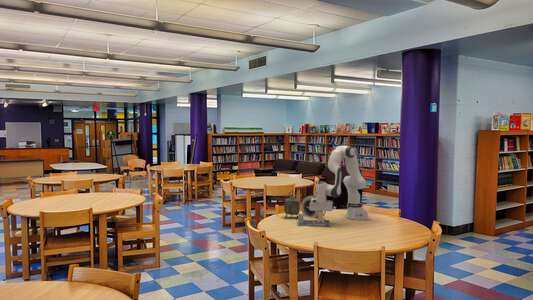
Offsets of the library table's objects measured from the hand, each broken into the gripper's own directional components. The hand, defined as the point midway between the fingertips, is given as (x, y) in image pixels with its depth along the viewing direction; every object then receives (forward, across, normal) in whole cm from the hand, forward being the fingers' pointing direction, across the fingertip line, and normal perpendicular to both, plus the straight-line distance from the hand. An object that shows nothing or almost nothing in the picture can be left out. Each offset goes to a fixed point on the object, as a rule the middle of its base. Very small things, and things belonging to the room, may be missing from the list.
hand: (320, 215), depth 337 cm
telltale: (+6, +6, +6) cm, 11 cm away
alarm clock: (+8, +6, -30) cm, 31 cm away
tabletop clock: (+8, +25, -20) cm, 33 cm away
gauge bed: (+8, +5, 0) cm, 9 cm away
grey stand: (+6, +6, +2) cm, 9 cm away
